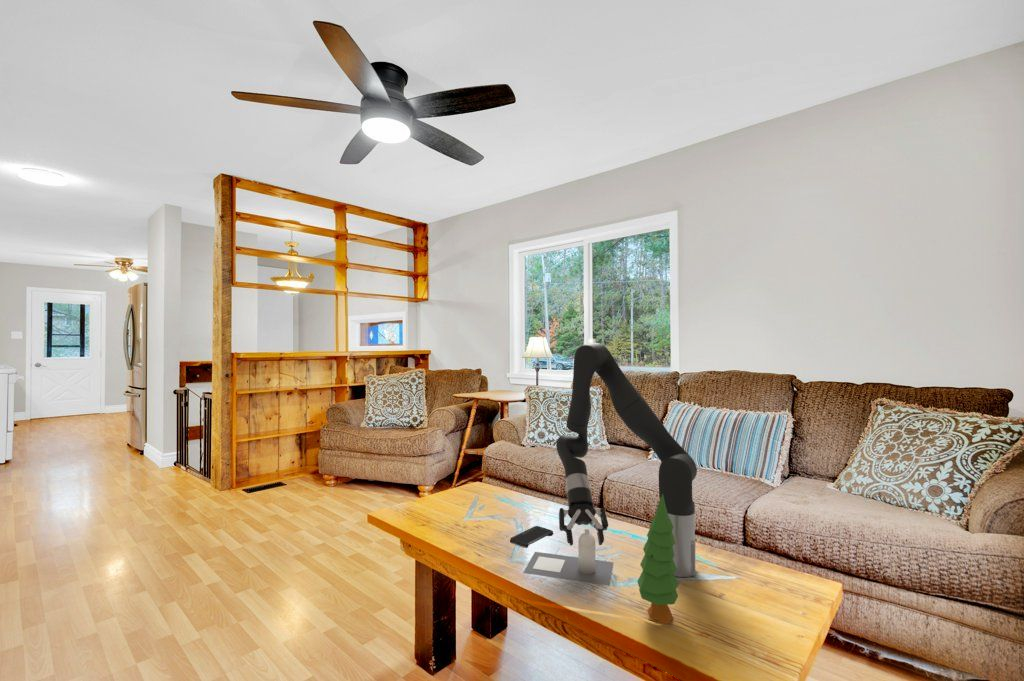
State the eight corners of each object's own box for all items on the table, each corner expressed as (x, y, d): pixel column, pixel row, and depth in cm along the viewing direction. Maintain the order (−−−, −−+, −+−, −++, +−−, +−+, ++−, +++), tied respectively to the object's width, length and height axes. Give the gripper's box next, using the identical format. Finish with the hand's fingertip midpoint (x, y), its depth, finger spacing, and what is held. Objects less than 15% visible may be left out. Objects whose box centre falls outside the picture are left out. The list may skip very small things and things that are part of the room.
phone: (554, 531, 163) (527, 545, 151) (554, 534, 163) (527, 548, 151) (536, 525, 168) (508, 538, 156) (536, 528, 168) (508, 541, 156)
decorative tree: (672, 632, 107) (672, 500, 107) (631, 620, 112) (631, 493, 112) (681, 612, 115) (681, 489, 115) (642, 600, 120) (643, 482, 120)
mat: (613, 564, 140) (613, 561, 140) (609, 587, 126) (609, 585, 126) (535, 553, 147) (535, 551, 147) (523, 574, 133) (523, 572, 133)
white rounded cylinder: (596, 567, 137) (596, 527, 137) (594, 574, 132) (594, 533, 132) (579, 564, 138) (579, 525, 138) (577, 572, 134) (577, 531, 134)
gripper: (557, 486, 144) (563, 539, 133) (603, 485, 145) (613, 538, 134) (554, 497, 149) (560, 549, 138) (599, 497, 150) (608, 549, 139)
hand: (586, 544), depth 136 cm, fingers open, 8 cm apart
